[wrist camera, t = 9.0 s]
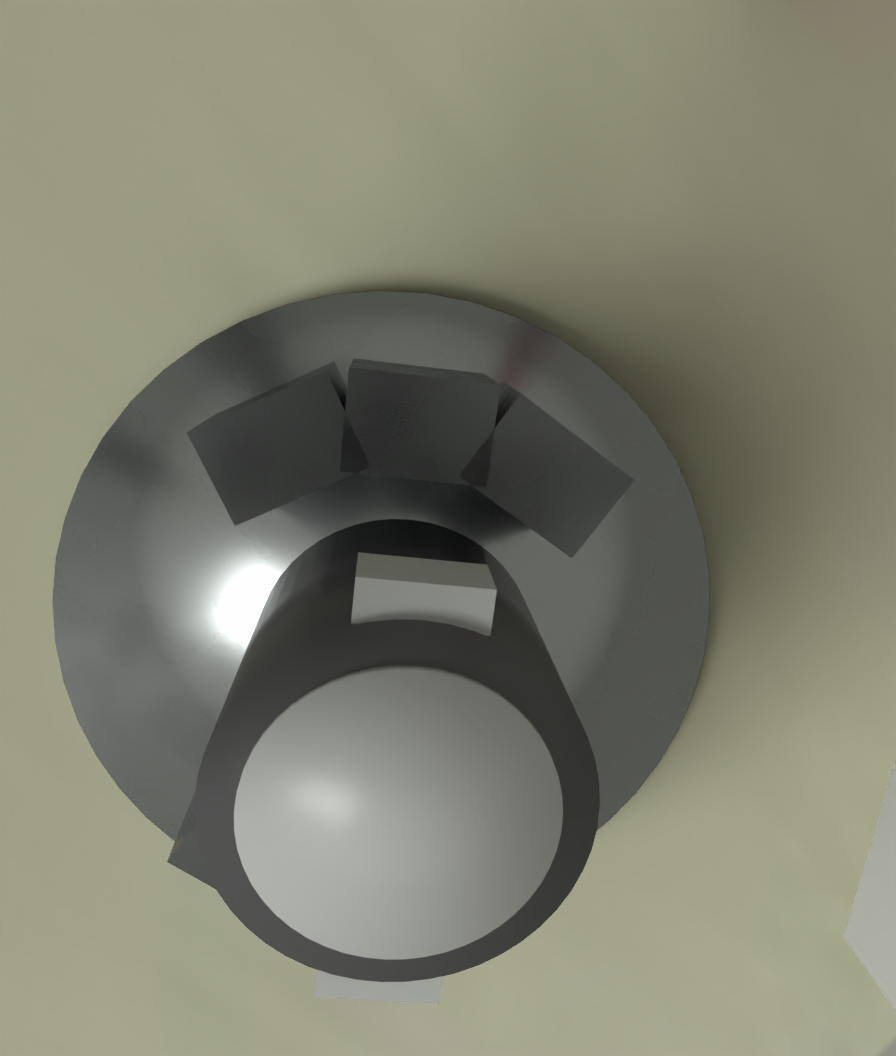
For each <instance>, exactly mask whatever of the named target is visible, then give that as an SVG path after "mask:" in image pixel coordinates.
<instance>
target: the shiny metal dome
mask: <svg viewBox="0 0 896 1056" xmlns="http://www.w3.org/2000/svg"><path fill="white" fill-rule="evenodd" d="M386 519H409V520H417V521H423V522H429V523H433V524H436V525H439V526H443V527H446V528H449V529H451V530H453V531H456V532H458V533H460V534H462V535H465V536H466V537H468V538H470V539H471V540H473V541H474V542H476V543H478V544H479V545H481V546H482V547H483V548H484V549H486V550H487V551H488V552H489V553H491V554H492V555H493V556H494V557H495V558H496V559H497V560H498V561H499V562H500V563H501V564H502V565H503V566H504V568H505V569H506V570H507V571H508V573H509V574H510V576H511V577H512V578H513V580H514V581H515V583H516V584H517V586H518V588H519V590H520V592H521V594H522V596H523V598H524V600H525V602H526V604H527V606H528V609H529V611H530V613H531V615H532V617H533V619H534V622H535V624H536V626H537V628H538V630H539V632H540V635H541V637H542V639H543V641H544V643H545V645H546V648H547V650H548V652H549V654H550V656H551V658H552V661H553V663H554V665H555V667H556V669H557V671H558V674H559V676H560V678H561V680H562V682H563V684H564V687H565V689H566V691H567V693H568V695H569V697H570V700H571V702H572V704H573V706H574V708H575V710H576V713H577V715H578V717H579V719H580V721H581V723H582V726H583V728H584V730H585V732H586V734H587V737H588V740H589V742H590V745H591V748H592V751H593V754H594V757H595V761H596V767H597V772H598V778H599V793H600V808H599V817H598V826H597V830H598V829H599V828H600V827H602V826H603V825H604V824H605V823H606V822H608V821H609V820H610V819H611V818H612V817H613V816H614V815H615V814H616V813H617V812H618V811H619V810H620V809H621V808H622V807H623V806H624V805H625V804H626V803H627V802H628V800H629V799H630V798H631V797H632V796H633V795H634V794H635V793H636V792H637V791H638V790H639V788H640V787H641V786H642V784H643V783H644V782H645V780H646V779H647V778H648V776H649V775H650V774H651V772H652V771H653V770H654V768H655V767H656V766H657V765H658V763H659V762H660V760H661V758H662V757H663V755H664V753H665V752H666V750H667V748H668V746H669V745H670V743H671V741H672V739H673V738H674V736H675V734H676V733H677V731H678V729H679V727H680V724H681V722H682V720H683V717H684V715H685V713H686V710H687V708H688V706H689V703H690V701H691V698H692V696H693V694H694V690H695V687H696V683H697V679H698V676H699V672H700V669H701V665H702V661H703V658H704V652H705V645H706V638H707V631H708V623H709V571H708V564H707V556H706V549H705V542H704V536H703V533H702V529H701V526H700V522H699V519H698V515H697V511H696V508H695V504H694V501H693V498H692V496H691V493H690V491H689V489H688V486H687V484H686V482H685V480H684V477H683V475H682V473H681V470H680V468H679V466H678V464H677V461H676V460H675V458H674V456H673V455H672V453H671V452H670V450H669V448H668V447H667V445H666V443H665V442H664V440H663V439H662V437H661V435H660V434H659V432H658V430H657V429H656V427H655V426H654V424H653V423H652V422H651V421H650V420H649V418H648V417H647V416H646V415H645V414H644V412H643V411H642V410H641V409H640V408H639V406H638V405H637V404H636V403H635V401H634V400H633V399H632V398H631V397H630V395H629V394H628V393H627V392H626V391H625V390H624V389H623V388H622V387H620V386H619V385H618V384H617V383H616V382H615V381H614V380H613V379H612V378H611V377H610V376H608V375H607V374H606V373H605V372H604V371H603V370H602V369H601V368H600V367H599V366H597V365H596V364H595V363H594V362H593V361H591V360H590V359H588V358H587V357H585V356H584V355H582V354H581V353H579V352H578V351H577V350H575V349H574V348H572V347H571V346H569V345H568V344H566V343H565V342H563V341H562V340H561V339H559V338H558V337H556V336H554V335H552V334H550V333H548V332H546V331H544V330H542V329H540V328H538V327H536V326H534V325H532V324H530V323H528V322H526V321H524V320H522V319H520V318H518V317H515V316H512V315H509V314H506V313H503V312H500V311H497V310H494V309H491V308H488V307H486V306H483V305H480V304H477V303H474V302H469V301H464V300H459V299H453V298H448V297H443V296H438V295H433V294H428V293H411V292H393V291H371V292H358V293H345V294H333V295H328V296H324V297H319V298H315V299H310V300H305V301H301V302H296V303H292V304H287V305H284V306H281V307H279V308H276V309H273V310H271V311H268V312H265V313H262V314H260V315H257V316H254V317H251V318H249V319H246V320H243V321H241V322H239V323H237V324H235V325H234V326H232V327H230V328H228V329H226V330H224V331H222V332H220V333H218V334H217V335H215V336H213V337H211V338H209V339H207V340H205V341H203V342H202V343H200V344H199V345H197V346H196V347H195V348H193V349H192V350H190V351H189V352H188V353H186V354H185V355H184V356H182V357H181V358H179V359H178V360H177V361H175V362H174V363H172V364H171V365H170V366H168V367H167V368H166V369H164V370H163V371H162V372H161V373H160V374H159V375H158V376H157V377H156V378H155V379H154V380H153V381H152V382H151V383H150V384H149V385H147V386H146V387H145V388H144V389H143V390H142V391H141V392H140V393H139V394H138V395H137V396H136V397H135V398H134V399H133V400H132V401H131V402H130V403H129V405H128V406H127V407H126V408H125V410H124V411H123V412H122V414H121V415H120V416H119V417H118V419H117V420H116V421H115V423H114V424H113V425H112V427H111V428H110V429H109V430H108V432H107V433H106V434H105V436H104V437H103V438H102V440H101V442H100V444H99V445H98V447H97V449H96V451H95V452H94V454H93V456H92V458H91V460H90V461H89V463H88V465H87V467H86V468H85V470H84V472H83V474H82V475H81V478H80V480H79V483H78V486H77V488H76V491H75V493H74V496H73V498H72V501H71V504H70V506H69V509H68V511H67V514H66V517H65V521H64V525H63V530H62V534H61V538H60V543H59V547H58V552H57V556H56V564H55V577H54V589H53V614H54V629H55V643H56V647H57V652H58V657H59V662H60V666H61V671H62V676H63V681H64V684H65V687H66V689H67V692H68V695H69V698H70V700H71V703H72V706H73V709H74V712H75V714H76V717H77V720H78V722H79V724H80V726H81V727H82V729H83V731H84V733H85V735H86V737H87V739H88V741H89V743H90V745H91V747H92V748H93V750H94V752H95V754H96V756H97V757H98V759H99V760H100V762H101V763H102V764H103V766H104V767H105V769H106V770H107V771H108V773H109V774H110V776H111V777H112V778H113V780H114V781H115V783H116V784H117V786H118V787H119V788H120V789H121V791H122V792H123V793H124V794H125V795H126V796H127V797H128V798H129V799H130V800H131V801H132V802H133V803H134V805H135V806H136V807H137V808H138V809H139V810H140V811H141V812H142V813H143V814H144V815H145V816H146V818H148V819H149V820H150V821H151V822H152V823H154V824H155V825H156V826H157V827H158V828H160V829H161V830H162V831H163V832H164V833H166V834H167V835H168V836H169V837H170V838H172V839H173V840H174V841H175V843H174V846H173V848H172V851H171V853H170V856H169V859H168V861H167V862H168V863H170V864H172V865H174V866H176V867H177V868H179V869H181V870H183V871H185V872H186V873H188V874H190V875H192V876H194V877H195V878H197V879H199V880H201V881H202V882H204V883H206V884H208V885H210V886H211V887H213V888H215V886H214V884H213V882H212V880H211V878H210V876H209V874H208V872H207V870H206V867H205V864H204V861H203V858H202V855H201V852H200V849H199V845H198V839H197V834H196V828H195V810H194V799H195V791H196V783H197V776H198V773H199V769H200V765H201V762H202V758H203V755H204V752H205V749H206V747H207V745H208V742H209V740H210V737H211V735H212V732H213V730H214V727H215V725H216V722H217V720H218V717H219V715H220V713H221V710H222V708H223V705H224V703H225V700H226V698H227V695H228V693H229V690H230V688H231V686H232V683H233V681H234V678H235V676H236V673H237V671H238V668H239V666H240V663H241V661H242V658H243V656H244V654H245V651H246V649H247V646H248V644H249V641H250V639H251V636H252V634H253V631H254V629H255V627H256V624H257V622H258V619H259V617H260V614H261V612H262V609H263V607H264V605H265V603H266V600H267V598H268V596H269V594H270V591H271V590H272V588H273V587H274V585H275V584H276V582H277V580H278V579H279V577H280V576H281V575H282V573H283V572H284V571H285V570H286V569H287V567H288V566H289V565H290V564H291V563H292V562H293V561H294V560H295V559H296V558H297V557H298V556H299V555H301V554H302V553H303V552H304V551H305V550H306V549H308V548H309V547H311V546H312V545H314V544H315V543H316V542H318V541H319V540H321V539H323V538H325V537H327V536H329V535H331V534H333V533H335V532H337V531H339V530H342V529H345V528H347V527H350V526H353V525H356V524H361V523H365V522H370V521H375V520H386ZM597 830H596V831H597ZM215 889H216V888H215Z"/></svg>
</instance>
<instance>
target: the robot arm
mask: <svg viewBox="0 0 896 1056" xmlns="http://www.w3.org/2000/svg"><path fill="white" fill-rule="evenodd" d="M844 938H845V940H846V941H847V943H848V944H849V945H850V947H851V948H852V950H853V951H854V952H855V954H856V955H857V957H858V958H859V959H860V961H861V962H862V964H863V965H864V966H865V968H866V969H867V971H868V972H869V974H870V975H871V976H872V978H873V979H874V981H875V982H876V983H877V985H878V986H879V988H880V989H881V990H882V992H883V993H884V995H885V996H886V997H887V999H888V1000H889V1002H890V1003H891V1004H892V1006H893V1007H894V1009H895V1010H896V762H895V765H894V768H893V771H892V775H891V778H890V782H889V785H888V788H887V792H886V795H885V798H884V802H883V805H882V809H881V812H880V815H879V819H878V822H877V825H876V829H875V832H874V836H873V839H872V842H871V846H870V849H869V852H868V856H867V859H866V863H865V866H864V869H863V873H862V876H861V880H860V883H859V886H858V890H857V893H856V896H855V900H854V903H853V907H852V910H851V913H850V917H849V920H848V923H847V927H846V930H845V934H844Z"/></svg>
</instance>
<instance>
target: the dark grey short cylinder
mask: <svg viewBox="0 0 896 1056" xmlns="http://www.w3.org/2000/svg"><path fill="white" fill-rule="evenodd" d="M599 808H600V793H599V778H598V772H597V767H596V761H595V757H594V754H593V751H592V748H591V745H590V742H589V740H588V737H587V734H586V732H585V730H584V728H583V726H582V723H581V721H580V719H579V717H578V715H577V713H576V710H575V708H574V706H573V704H572V702H571V700H570V697H569V695H568V693H567V691H566V689H565V687H564V684H563V682H562V680H561V678H560V676H559V674H558V671H557V669H556V667H555V665H554V663H553V661H552V658H551V656H550V654H549V652H548V650H547V648H546V645H545V643H544V641H543V639H542V637H541V635H540V632H539V630H538V628H537V626H536V624H535V622H534V619H533V617H532V615H531V613H530V611H529V609H528V606H527V604H526V602H525V600H524V598H523V596H522V594H521V592H520V590H519V588H518V586H517V584H516V583H515V581H514V580H513V578H512V577H511V576H510V574H509V573H508V571H507V570H506V569H505V568H504V566H503V565H502V564H501V563H500V562H499V561H498V560H497V559H496V558H495V557H494V556H493V555H492V554H491V553H489V552H488V551H487V550H486V549H484V548H483V547H482V546H481V545H479V544H478V543H476V542H474V541H473V540H471V539H470V538H468V537H466V536H465V535H462V534H460V533H458V532H456V531H453V530H451V529H449V528H446V527H443V526H439V525H436V524H433V523H429V522H423V521H417V520H409V519H386V520H375V521H370V522H365V523H361V524H356V525H353V526H350V527H347V528H345V529H342V530H339V531H337V532H335V533H333V534H331V535H329V536H327V537H325V538H323V539H321V540H319V541H318V542H316V543H315V544H314V545H312V546H311V547H309V548H308V549H306V550H305V551H304V552H303V553H302V554H301V555H299V556H298V557H297V558H296V559H295V560H294V561H293V562H292V563H291V564H290V565H289V566H288V567H287V569H286V570H285V571H284V572H283V573H282V575H281V576H280V577H279V579H278V580H277V582H276V584H275V585H274V587H273V588H272V590H271V591H270V594H269V596H268V598H267V600H266V603H265V605H264V607H263V609H262V612H261V614H260V617H259V619H258V622H257V624H256V627H255V629H254V631H253V634H252V636H251V639H250V641H249V644H248V646H247V649H246V651H245V654H244V656H243V658H242V661H241V663H240V666H239V668H238V671H237V673H236V676H235V678H234V681H233V683H232V686H231V688H230V690H229V693H228V695H227V698H226V700H225V703H224V705H223V708H222V710H221V713H220V715H219V717H218V720H217V722H216V725H215V727H214V730H213V732H212V735H211V737H210V740H209V742H208V745H207V747H206V749H205V752H204V755H203V758H202V762H201V765H200V769H199V773H198V776H197V783H196V791H195V799H194V810H195V828H196V834H197V839H198V845H199V849H200V852H201V855H202V858H203V861H204V864H205V867H206V870H207V872H208V874H209V876H210V878H211V880H212V882H213V884H214V886H215V888H216V890H217V891H218V893H219V894H220V896H221V897H222V899H223V900H224V901H225V903H226V904H227V906H228V907H229V909H230V910H231V911H232V912H233V913H234V914H235V915H236V916H237V918H238V919H239V920H240V921H241V922H242V923H243V924H244V925H245V926H246V927H247V928H248V929H249V930H250V931H252V932H253V933H254V934H255V935H256V936H258V937H259V938H260V939H261V940H262V941H264V942H265V943H266V944H268V945H269V946H271V947H273V948H274V949H276V950H277V951H279V952H280V953H282V954H284V955H285V956H287V957H289V958H291V959H293V960H296V961H298V962H300V963H302V964H304V965H306V966H308V967H311V968H314V969H317V979H316V989H315V998H323V999H346V1000H368V1001H391V1002H414V1003H437V1004H439V998H440V991H441V984H442V977H443V976H445V975H450V974H454V973H457V972H460V971H463V970H466V969H469V968H471V967H474V966H477V965H480V964H482V963H484V962H486V961H488V960H490V959H492V958H494V957H496V956H498V955H500V954H502V953H504V952H505V951H507V950H508V949H510V948H512V947H513V946H515V945H517V944H518V943H520V942H521V941H523V940H524V939H525V938H526V937H528V936H529V935H530V934H531V933H533V932H534V931H535V930H536V929H538V928H539V927H540V926H541V925H542V924H543V923H544V922H545V921H546V920H547V919H548V918H549V917H550V916H551V915H552V914H553V913H554V912H555V911H556V910H557V909H558V907H559V906H560V905H561V903H562V902H563V901H564V899H565V898H566V897H567V895H568V894H569V893H570V892H571V890H572V888H573V887H574V885H575V883H576V881H577V880H578V878H579V876H580V874H581V873H582V871H583V869H584V866H585V864H586V862H587V859H588V857H589V854H590V852H591V849H592V846H593V842H594V838H595V834H596V830H597V826H598V817H599Z"/></svg>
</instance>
